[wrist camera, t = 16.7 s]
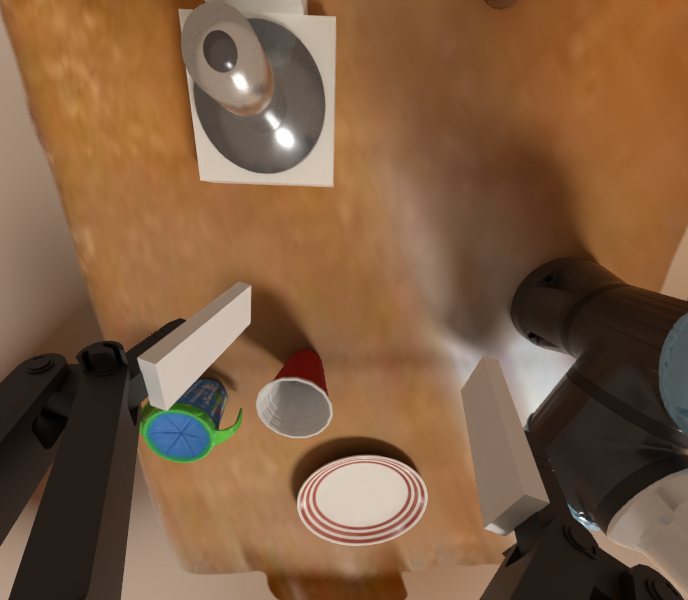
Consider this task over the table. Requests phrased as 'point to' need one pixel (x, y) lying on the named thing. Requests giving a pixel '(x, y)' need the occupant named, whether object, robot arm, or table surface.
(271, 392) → the plastic cup
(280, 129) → the scale pan
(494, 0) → the cylinder
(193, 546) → the table surface
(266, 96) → the silver metal cylinder
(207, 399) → the snack cup
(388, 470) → the dinner plate
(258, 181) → the scale
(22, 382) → the robot arm
